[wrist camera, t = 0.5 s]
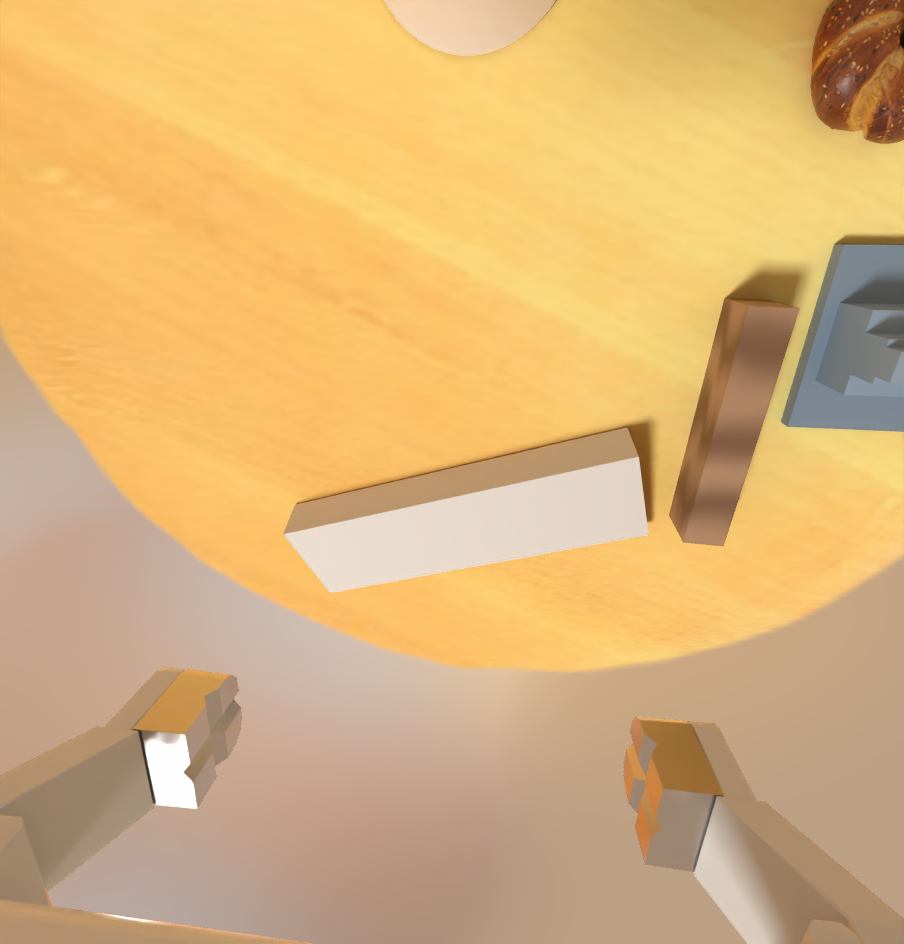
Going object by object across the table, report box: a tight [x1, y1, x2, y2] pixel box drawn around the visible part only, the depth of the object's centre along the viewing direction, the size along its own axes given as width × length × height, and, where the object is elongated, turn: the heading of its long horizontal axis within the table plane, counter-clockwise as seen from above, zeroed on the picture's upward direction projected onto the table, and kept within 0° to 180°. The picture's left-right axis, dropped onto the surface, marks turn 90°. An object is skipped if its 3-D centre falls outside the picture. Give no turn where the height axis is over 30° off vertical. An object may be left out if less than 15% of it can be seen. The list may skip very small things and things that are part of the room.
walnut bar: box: [669, 298, 799, 546], centre depth 42 cm, size 20×3×5 cm, turn 178°
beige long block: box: [284, 427, 649, 593], centre depth 51 cm, size 34×5×10 cm
